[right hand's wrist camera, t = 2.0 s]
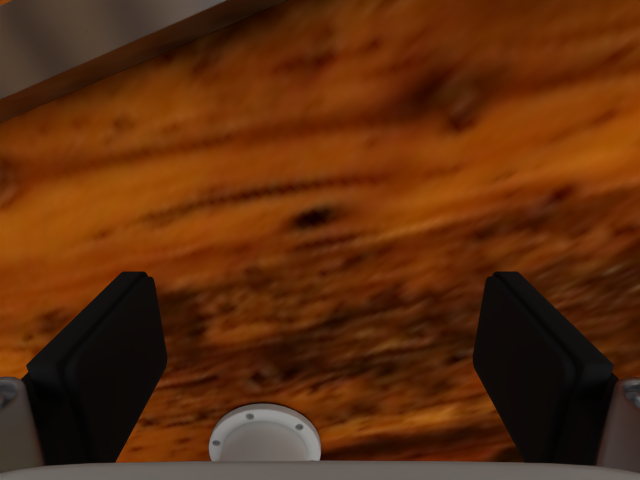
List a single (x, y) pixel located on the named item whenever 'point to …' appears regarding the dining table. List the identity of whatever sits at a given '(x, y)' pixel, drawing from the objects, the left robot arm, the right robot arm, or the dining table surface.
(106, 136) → the dining table surface
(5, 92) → the beam
